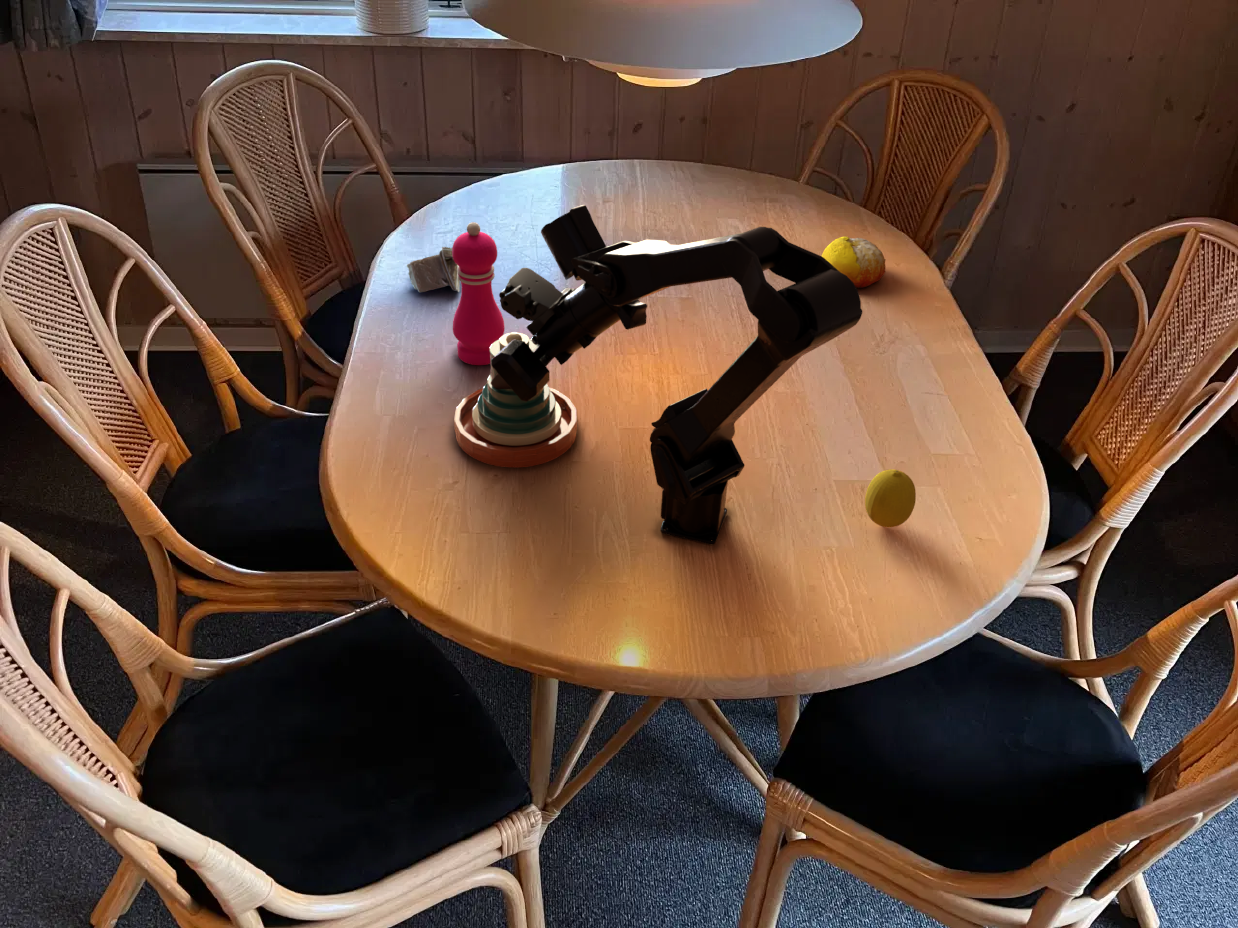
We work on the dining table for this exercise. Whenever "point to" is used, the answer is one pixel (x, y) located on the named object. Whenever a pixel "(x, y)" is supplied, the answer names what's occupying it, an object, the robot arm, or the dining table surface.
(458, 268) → the pepper mill
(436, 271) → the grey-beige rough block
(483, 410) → the tagine lid
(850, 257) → the fruit
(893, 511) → the lemon
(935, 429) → the dining table surface
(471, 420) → the tagine base
